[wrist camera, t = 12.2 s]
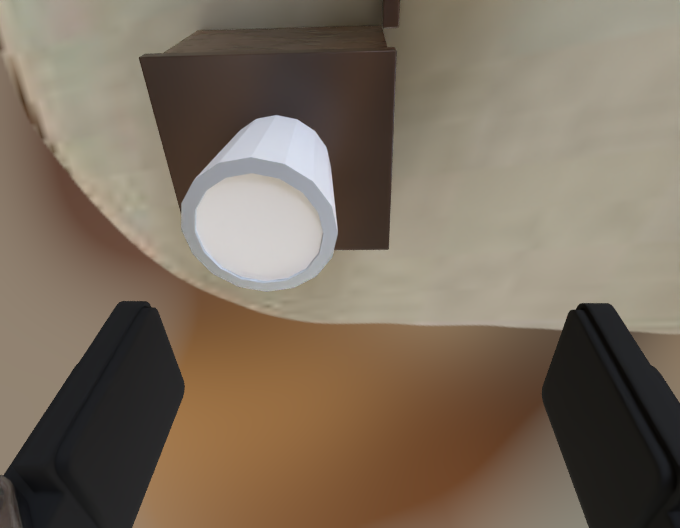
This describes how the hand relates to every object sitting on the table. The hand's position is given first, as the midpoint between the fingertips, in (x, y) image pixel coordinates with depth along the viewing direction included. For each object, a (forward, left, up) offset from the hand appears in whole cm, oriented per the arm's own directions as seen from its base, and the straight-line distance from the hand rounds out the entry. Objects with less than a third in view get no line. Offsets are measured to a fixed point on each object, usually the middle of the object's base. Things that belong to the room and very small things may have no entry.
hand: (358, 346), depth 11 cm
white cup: (+4, +3, -16) cm, 17 cm away
